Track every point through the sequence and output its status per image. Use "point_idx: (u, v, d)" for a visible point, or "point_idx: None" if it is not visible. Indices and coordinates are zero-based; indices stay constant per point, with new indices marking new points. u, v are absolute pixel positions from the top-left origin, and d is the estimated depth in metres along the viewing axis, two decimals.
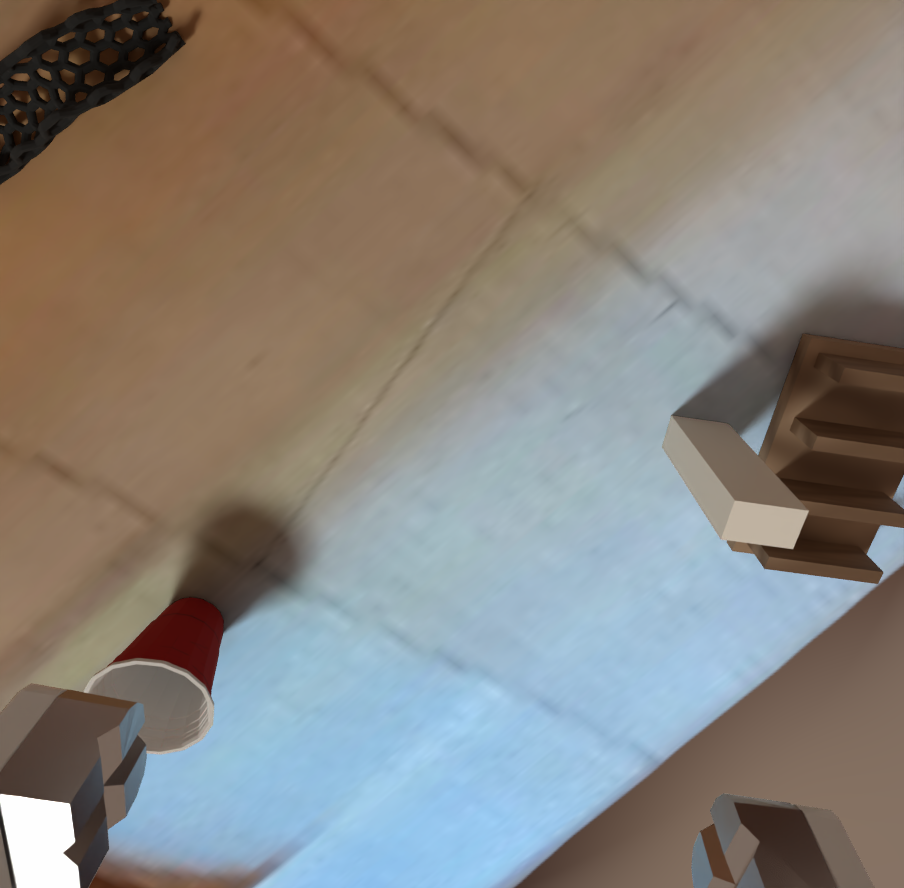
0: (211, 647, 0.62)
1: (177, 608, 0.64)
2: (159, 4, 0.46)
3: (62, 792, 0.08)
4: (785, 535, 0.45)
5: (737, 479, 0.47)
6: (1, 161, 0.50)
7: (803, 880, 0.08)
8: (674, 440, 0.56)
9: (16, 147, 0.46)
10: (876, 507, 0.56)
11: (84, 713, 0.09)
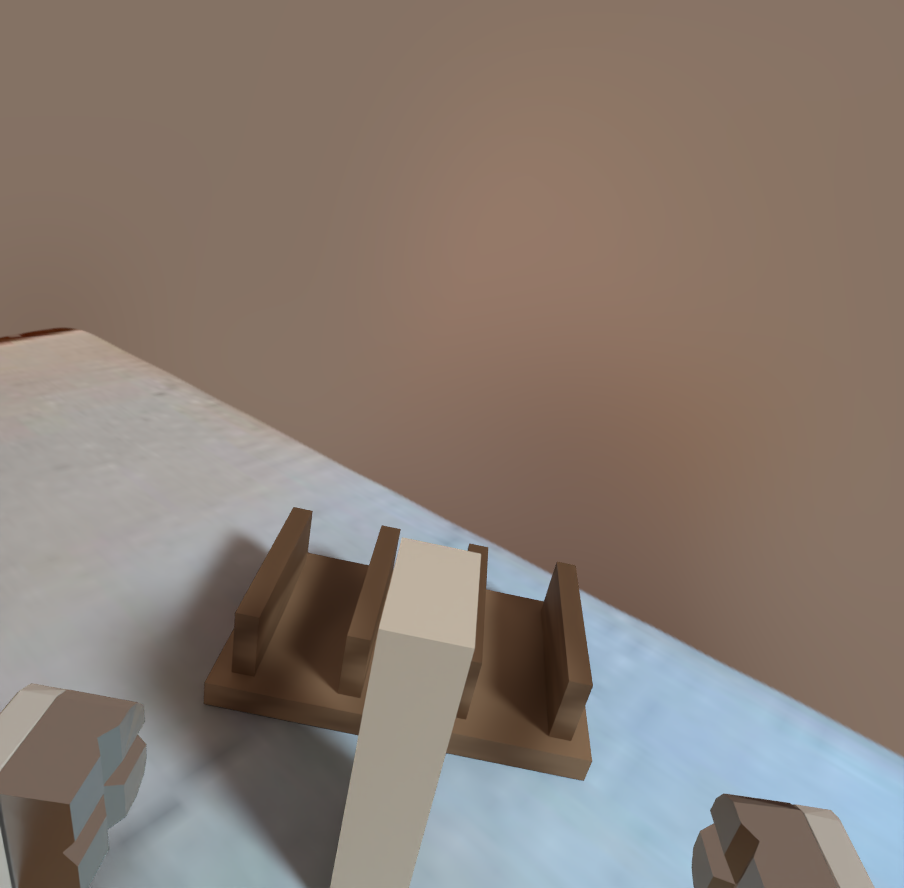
0: None
1: None
2: None
3: (62, 792, 0.08)
4: (454, 562, 0.24)
5: None
6: None
7: (802, 880, 0.08)
8: (366, 883, 0.26)
9: None
10: None
11: (84, 713, 0.09)
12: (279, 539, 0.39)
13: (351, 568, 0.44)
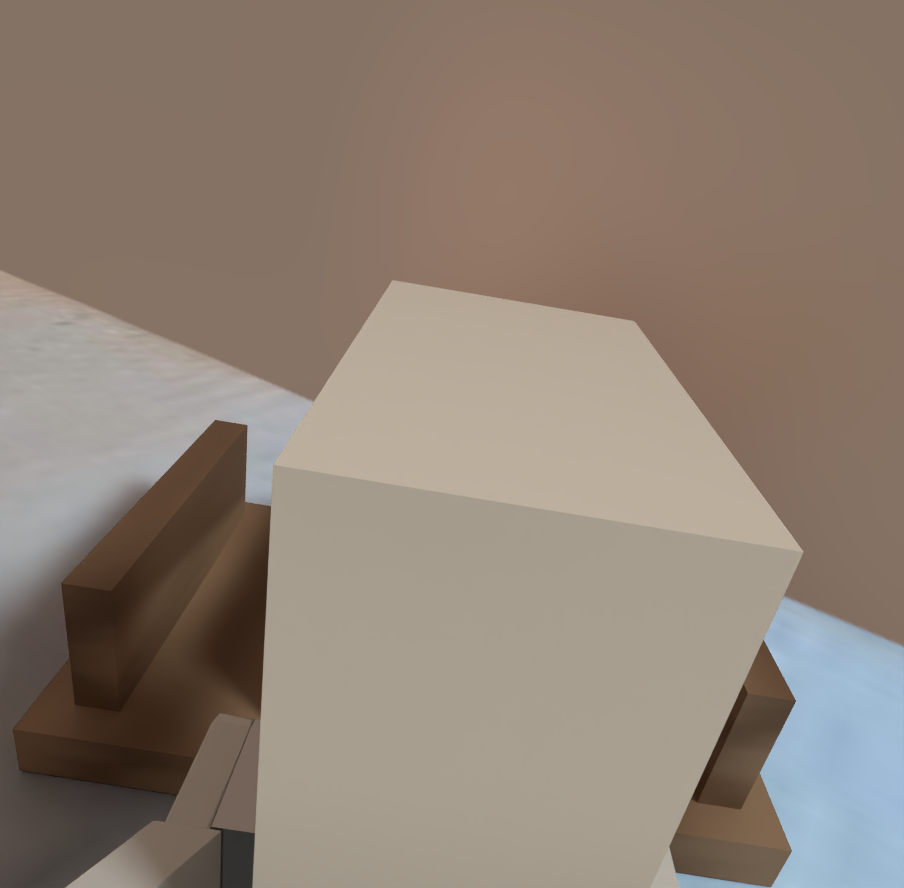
0: None
1: None
2: None
3: None
4: (564, 327, 0.08)
5: None
6: None
7: None
8: None
9: None
10: None
11: None
12: (181, 463, 0.22)
13: None
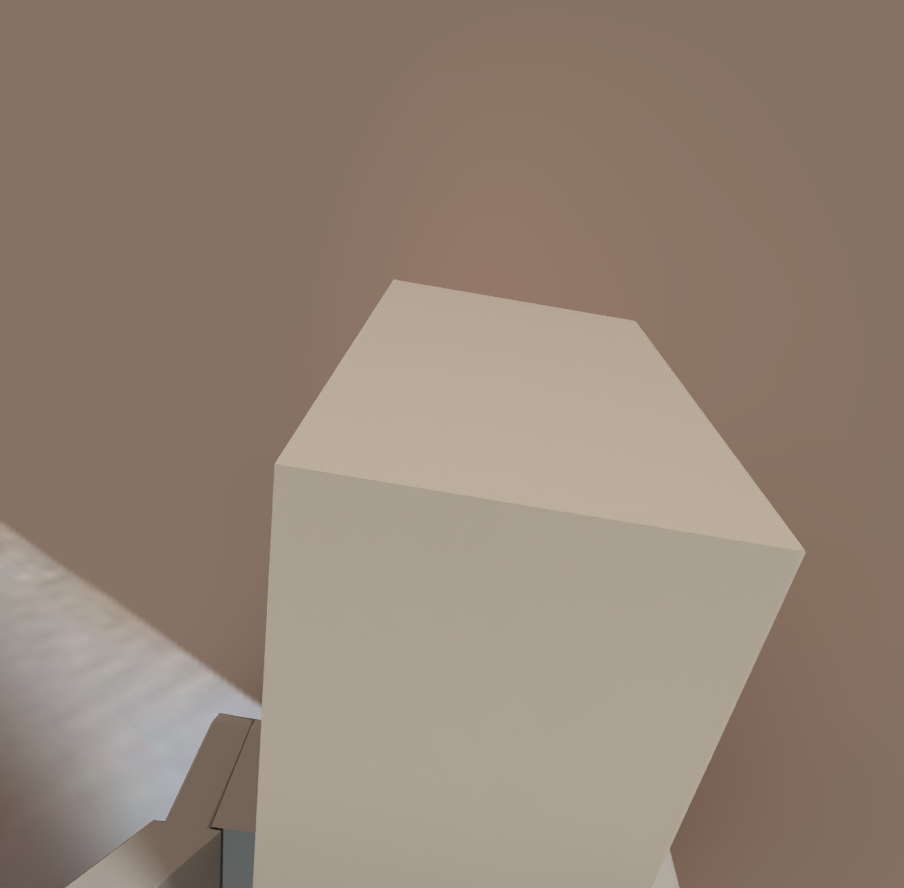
0: None
1: None
2: None
3: None
4: (566, 326, 0.08)
5: None
6: None
7: None
8: None
9: None
10: None
11: None
12: None
13: None
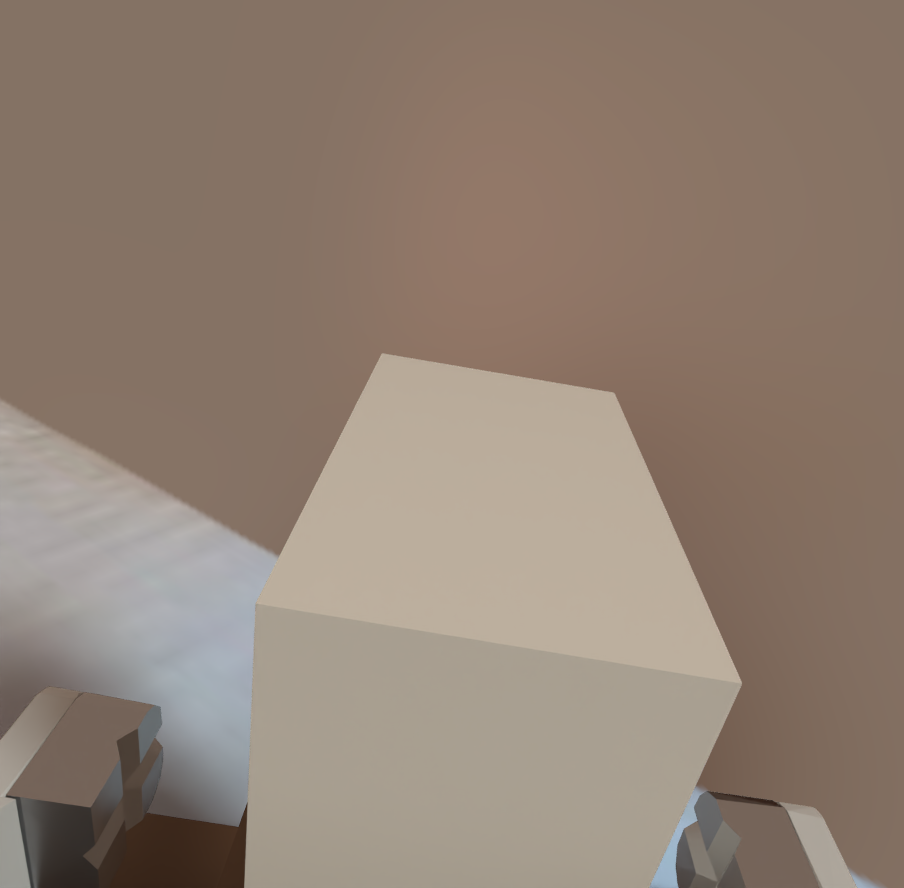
0: None
1: None
2: None
3: (83, 795, 0.08)
4: (544, 405, 0.08)
5: None
6: None
7: (783, 878, 0.08)
8: None
9: None
10: None
11: (103, 716, 0.09)
12: None
13: (203, 847, 0.18)
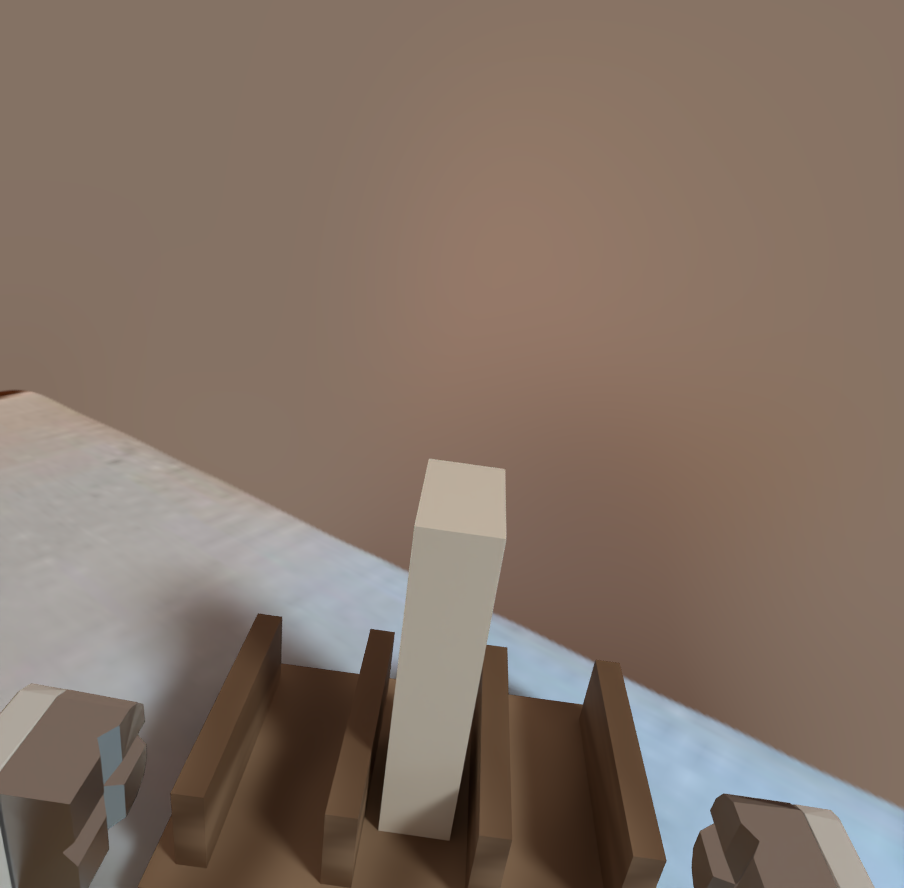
0: None
1: None
2: None
3: (62, 792, 0.08)
4: (480, 476, 0.26)
5: None
6: None
7: (803, 880, 0.08)
8: (416, 797, 0.27)
9: None
10: (480, 692, 0.31)
11: (84, 713, 0.09)
12: (237, 665, 0.30)
13: (337, 681, 0.35)
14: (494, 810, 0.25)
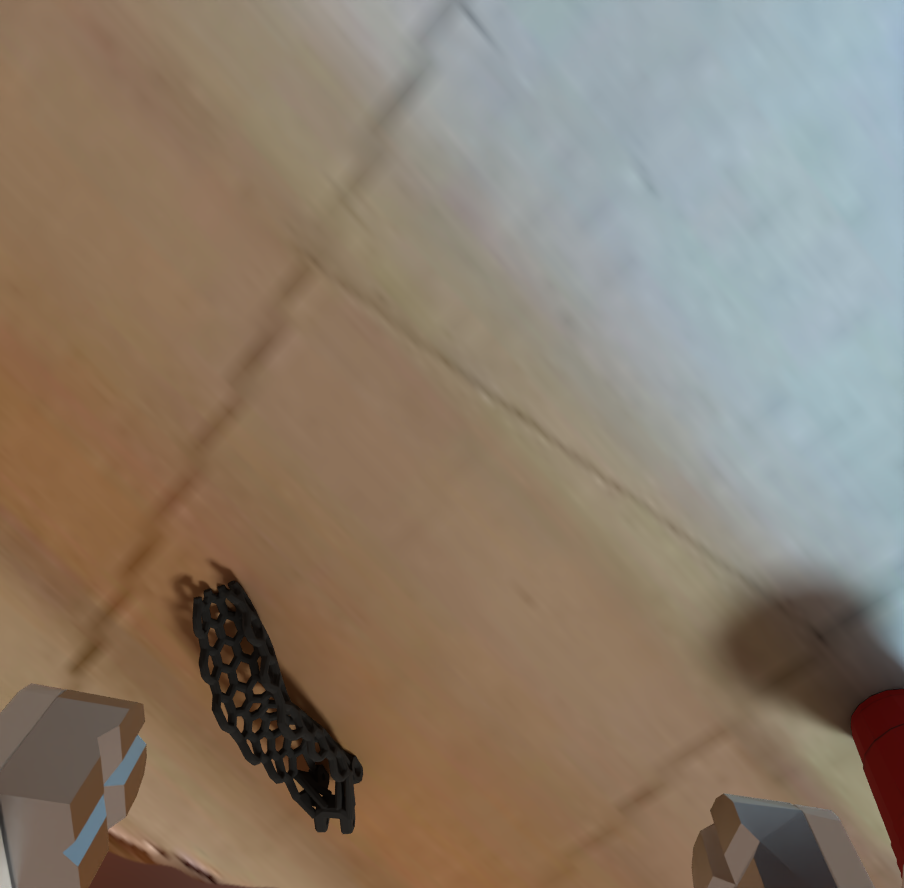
0: None
1: (860, 745, 0.47)
2: (204, 593, 0.47)
3: (62, 792, 0.08)
4: None
5: None
6: None
7: (802, 880, 0.08)
8: None
9: (310, 757, 0.47)
10: None
11: (84, 713, 0.09)
12: None
13: None
14: None
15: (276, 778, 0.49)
